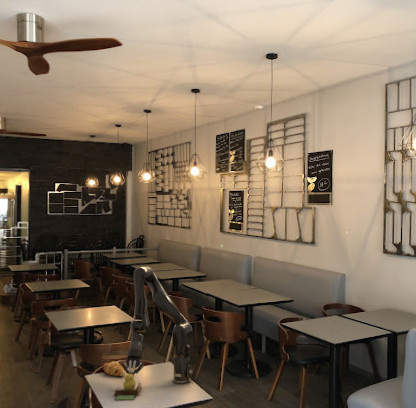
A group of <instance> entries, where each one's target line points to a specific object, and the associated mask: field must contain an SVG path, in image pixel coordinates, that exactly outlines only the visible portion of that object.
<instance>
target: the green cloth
mask: <svg viewBox="0 0 416 408" xmlns="http://www.w3.org/2000/svg"><path fill="white" fill-rule="evenodd" d="M135 397H136V396H135V395H117V396H115V401H134V399H135Z"/></svg>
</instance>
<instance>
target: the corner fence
mask: <svg viewBox="0 0 416 408" xmlns="http://www.w3.org/2000/svg"><path fill="white" fill-rule="evenodd" d="M141 388H142V382H138V383H137V386H136V388H134V389H124V388H123V389H122V388H121V389H118V388H117V389H115V390H114V397H117V395H135V396H134V397H136V396H138V395H139V394H140V391H141Z"/></svg>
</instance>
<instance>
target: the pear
mask: <svg viewBox="0 0 416 408" xmlns="http://www.w3.org/2000/svg"><path fill="white" fill-rule="evenodd" d="M134 377H135V375H134V376H133V375H132V374H130V371H129V374H128V373H126V375H124V381H123V383H122V386H123V389H135V387H136V381H135V380H134V379H135V378H134Z"/></svg>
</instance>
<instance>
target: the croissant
mask: <svg viewBox="0 0 416 408" xmlns="http://www.w3.org/2000/svg"><path fill="white" fill-rule="evenodd" d="M102 369H103V372H104V373H105V374H107V375H109V376H115V377H117V376H118V377H125V376H126V375H125V374H126V372H125V370H124V368H123V367H122V364H121V363H120V362H118V361H115V360H112V361H109V362H105V363H103V364H102Z"/></svg>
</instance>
